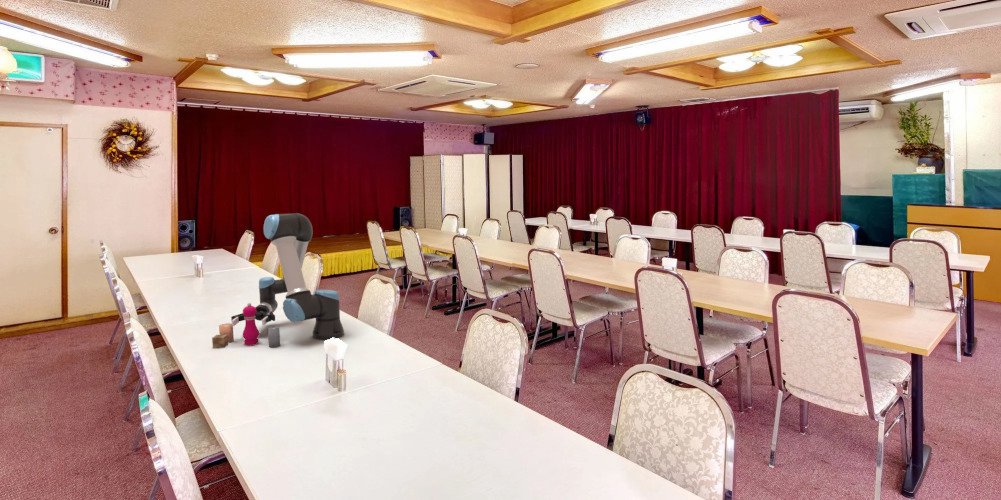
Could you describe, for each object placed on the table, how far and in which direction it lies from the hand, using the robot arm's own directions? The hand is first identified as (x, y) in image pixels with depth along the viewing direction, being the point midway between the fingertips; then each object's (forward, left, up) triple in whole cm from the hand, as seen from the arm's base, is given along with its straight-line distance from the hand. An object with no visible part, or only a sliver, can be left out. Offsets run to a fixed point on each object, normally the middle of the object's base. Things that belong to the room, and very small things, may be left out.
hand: (247, 323), depth 253 cm
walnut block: (+13, 0, -11) cm, 17 cm away
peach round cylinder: (+13, -8, -11) cm, 19 cm away
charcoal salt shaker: (-12, +2, -11) cm, 16 cm away
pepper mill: (0, -3, -11) cm, 12 cm away
